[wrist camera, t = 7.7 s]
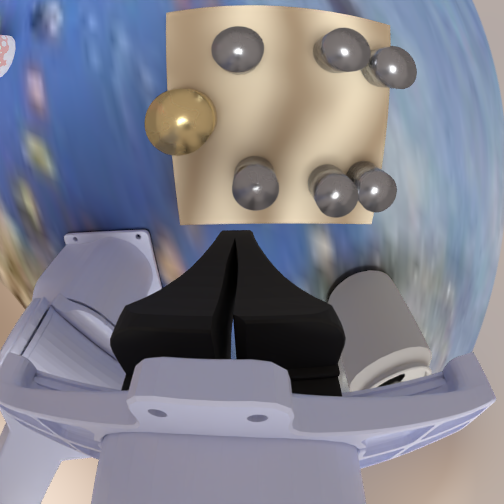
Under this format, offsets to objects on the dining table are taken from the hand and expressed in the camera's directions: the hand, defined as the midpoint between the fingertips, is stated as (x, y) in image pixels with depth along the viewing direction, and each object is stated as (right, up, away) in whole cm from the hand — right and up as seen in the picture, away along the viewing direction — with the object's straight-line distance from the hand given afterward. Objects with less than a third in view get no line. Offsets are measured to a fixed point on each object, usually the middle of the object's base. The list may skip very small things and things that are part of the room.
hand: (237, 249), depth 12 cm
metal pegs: (+5, +9, +5) cm, 12 cm away
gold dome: (-4, +9, +5) cm, 11 cm away
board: (+3, +10, +6) cm, 11 cm away
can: (+12, -4, +15) cm, 20 cm away
